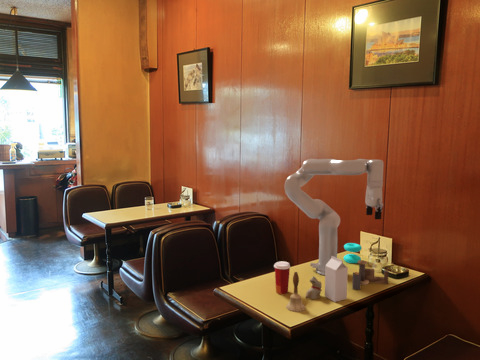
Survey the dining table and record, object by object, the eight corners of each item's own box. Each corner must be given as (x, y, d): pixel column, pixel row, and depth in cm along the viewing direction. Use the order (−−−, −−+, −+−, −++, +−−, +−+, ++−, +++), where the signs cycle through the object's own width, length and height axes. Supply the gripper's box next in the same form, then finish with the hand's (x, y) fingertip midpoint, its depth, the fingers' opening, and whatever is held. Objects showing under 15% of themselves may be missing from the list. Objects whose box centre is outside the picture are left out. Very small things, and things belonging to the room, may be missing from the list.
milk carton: (334, 302, 173) (336, 261, 171) (324, 296, 180) (325, 257, 177) (346, 299, 177) (348, 259, 174) (336, 293, 183) (337, 254, 181)
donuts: (360, 242, 231) (362, 247, 221) (359, 258, 232) (362, 264, 222) (343, 242, 232) (344, 246, 223) (342, 258, 234) (344, 263, 224)
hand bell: (283, 309, 167) (283, 273, 165) (290, 301, 174) (291, 267, 172) (300, 313, 163) (301, 277, 161) (308, 306, 170) (309, 271, 168)
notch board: (359, 281, 197) (359, 270, 196) (358, 278, 202) (359, 266, 201) (388, 284, 194) (389, 272, 193) (387, 280, 199) (387, 269, 198)
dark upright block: (352, 289, 188) (353, 273, 187) (352, 286, 192) (352, 270, 191) (360, 289, 187) (360, 274, 186) (359, 286, 191) (360, 271, 190)
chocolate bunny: (323, 299, 177) (323, 278, 175) (305, 299, 177) (306, 278, 176) (320, 294, 182) (321, 273, 181) (304, 294, 182) (304, 273, 181)
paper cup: (291, 289, 187) (291, 262, 185) (288, 296, 180) (288, 267, 178) (275, 287, 190) (276, 260, 188) (271, 294, 183) (272, 265, 181)
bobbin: (354, 284, 194) (355, 263, 193) (353, 279, 201) (354, 258, 199) (369, 285, 192) (370, 264, 191) (368, 280, 199) (368, 259, 198)
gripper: (360, 181, 204) (359, 213, 206) (375, 186, 187) (374, 221, 189) (374, 181, 205) (372, 213, 207) (390, 186, 188) (388, 220, 190)
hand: (373, 217), depth 198 cm, fingers open, 9 cm apart
